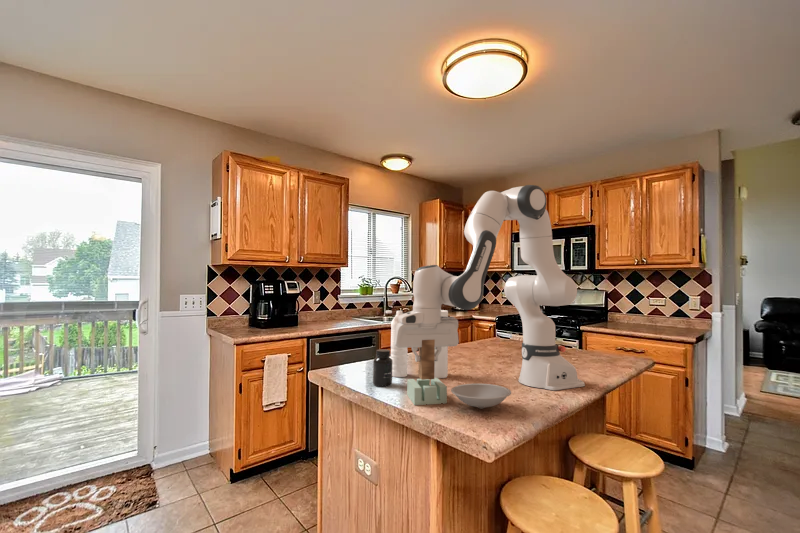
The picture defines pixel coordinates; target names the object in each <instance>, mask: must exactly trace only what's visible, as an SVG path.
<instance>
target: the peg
mask: <svg viewBox="0 0 800 533" xmlns="http://www.w3.org/2000/svg"><path fill="white" fill-rule="evenodd" d="M418 355H420V356H421V362H418V374H417V375H418V377H419V379H422V380H425V379H429V380H431V379H434V356H435V340H422V347H418Z"/></svg>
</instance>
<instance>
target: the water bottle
mask: <svg viewBox="0 0 800 533" xmlns="http://www.w3.org/2000/svg"><path fill="white" fill-rule="evenodd" d="M392 313H393V311H392V310H389V309H388V310H385V314H392ZM401 314H404V312H403V310H396V313H395V316H394V317H393V318H392V320H391V323H390V328H391V329H390V358H391V359H392V378H393V377H394V378H405V377H407V376H408V356H409V355H408V350H409V349H408V348H398V347H397V346H396V345H395V344H394V336H395V329H396V326H397V324H398V323H400V322H399V320H398V316H399V315H401Z"/></svg>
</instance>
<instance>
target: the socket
mask: <svg viewBox="0 0 800 533" xmlns="http://www.w3.org/2000/svg"><path fill="white" fill-rule="evenodd" d="M406 380H407V381H406V384H407V385H406V386H407V387H406V391H407V392H406V395H407V397H408V398H409V400H410V401H411V403H413V406H425V405H426V404H427V405H439V404H440V405H442V404H441V403H443V404H447V399H448V397H447V396H448V392H447V391H448V386H447V385H446V384H445V383H444V382H442V381H441V380H440V378H434V379H425V380H422V379H421V378H416V380H415V379H414V378H407V379H406ZM427 405H426V406H427Z"/></svg>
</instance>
